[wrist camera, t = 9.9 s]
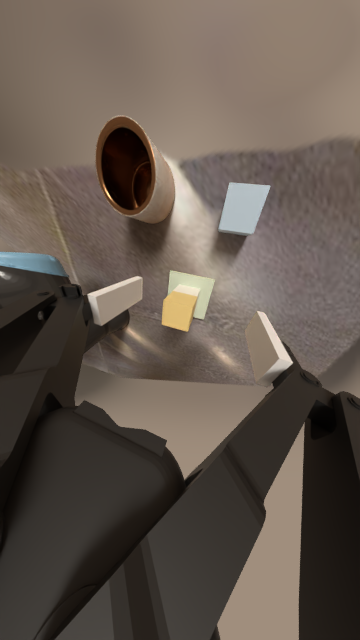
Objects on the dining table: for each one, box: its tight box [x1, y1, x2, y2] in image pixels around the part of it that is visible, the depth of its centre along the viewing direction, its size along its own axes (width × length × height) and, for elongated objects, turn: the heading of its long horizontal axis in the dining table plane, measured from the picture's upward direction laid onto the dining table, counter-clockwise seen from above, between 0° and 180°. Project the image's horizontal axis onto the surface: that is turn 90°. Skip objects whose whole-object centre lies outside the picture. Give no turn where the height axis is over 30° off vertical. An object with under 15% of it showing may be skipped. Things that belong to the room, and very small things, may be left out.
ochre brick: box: [162, 291, 198, 332], centre depth 29 cm, size 6×6×6 cm
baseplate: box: [168, 270, 215, 320], centre depth 34 cm, size 12×12×7 cm
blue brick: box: [218, 183, 270, 236], centre depth 23 cm, size 6×6×6 cm
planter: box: [95, 115, 175, 224], centre depth 24 cm, size 11×11×10 cm
